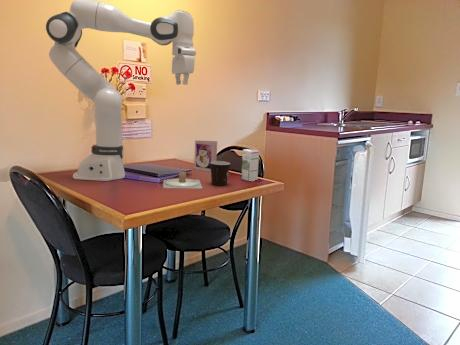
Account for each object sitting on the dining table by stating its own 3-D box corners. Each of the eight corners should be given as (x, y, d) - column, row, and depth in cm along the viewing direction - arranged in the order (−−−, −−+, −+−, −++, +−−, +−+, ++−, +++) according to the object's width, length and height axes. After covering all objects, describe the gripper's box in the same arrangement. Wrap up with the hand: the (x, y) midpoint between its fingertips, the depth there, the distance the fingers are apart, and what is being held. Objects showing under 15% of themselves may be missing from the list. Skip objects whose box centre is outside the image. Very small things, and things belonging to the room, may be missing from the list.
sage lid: (165, 187, 163) (166, 175, 162) (165, 179, 176) (165, 169, 175) (199, 187, 165) (200, 176, 164) (197, 180, 178) (197, 169, 178)
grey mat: (163, 189, 162) (163, 187, 161) (163, 180, 177) (163, 179, 177) (202, 189, 164) (202, 188, 164) (199, 181, 180) (199, 179, 180)
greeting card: (193, 169, 206) (194, 140, 203) (201, 167, 213) (202, 139, 210) (211, 172, 201) (213, 142, 198) (219, 170, 207) (220, 141, 204)
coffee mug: (217, 182, 179) (218, 160, 177) (232, 185, 174) (234, 163, 172) (200, 186, 170) (201, 163, 168) (216, 190, 165) (217, 166, 163)
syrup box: (257, 180, 187) (259, 150, 184) (248, 181, 184) (250, 150, 181) (249, 178, 192) (251, 148, 189) (240, 179, 188) (242, 149, 185)
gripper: (168, 52, 178) (167, 84, 181) (182, 49, 160) (181, 84, 162) (182, 53, 181) (181, 84, 183) (197, 50, 162) (196, 85, 165)
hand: (181, 84), depth 173 cm, fingers open, 8 cm apart
